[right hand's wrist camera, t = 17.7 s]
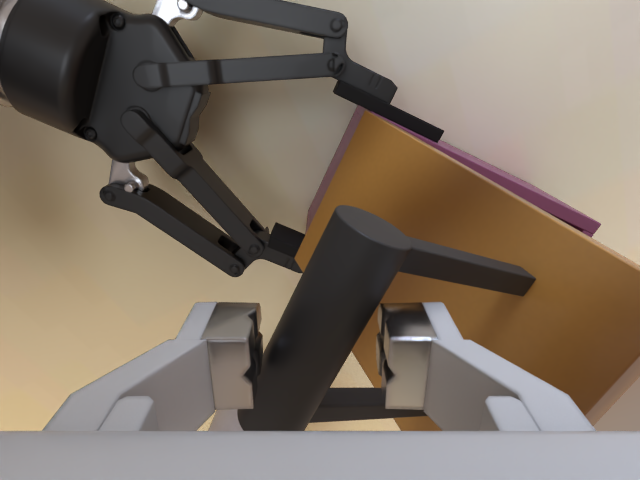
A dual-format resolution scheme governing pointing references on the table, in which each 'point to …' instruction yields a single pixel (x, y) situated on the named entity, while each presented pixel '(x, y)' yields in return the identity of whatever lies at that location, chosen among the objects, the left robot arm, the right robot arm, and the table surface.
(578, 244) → the lid
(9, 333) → the table surface
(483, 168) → the chest
